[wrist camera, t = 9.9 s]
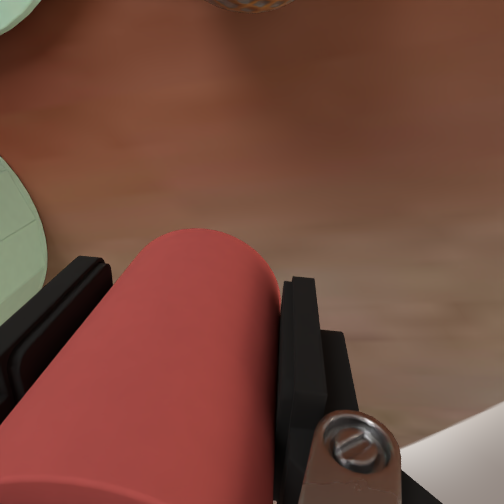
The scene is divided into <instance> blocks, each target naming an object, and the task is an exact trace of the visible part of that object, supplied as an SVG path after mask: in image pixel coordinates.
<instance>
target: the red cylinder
mask: <svg viewBox="0 0 504 504" xmlns="http://www.w3.org/2000/svg"><path fill="white" fill-rule="evenodd" d="M280 306H281V298H280V290H279V287H278V283H277V280H276V278H275V276H274V274H273V272H272V270H271V269H270V267H269V265H268V264H267V263H266V261H265V260H264V259H263V258H262V257H261V256H260V255H259V254H258V253H257V252H256V251H255V250H254V249H253V248H251V247H250V246H249V245H247V244H246V243H244V242H243V241H241V240H239V239H237V238H235V237H233V236H231V235H228V234H226V233H222V232H219V231H215V230H209V229H196V228H192V229H182V230H177V231H173V232H170V233H167V234H165V235H162V236H160V237H158V238H157V239H155V240H153V241H152V242H150V243H149V244H148V245H146V246H145V247H144V248H143V249H142V250H141V252H140V253H139V254H138V255H137V256H136V258H135V259H134V260H133V261H132V263H131V264H130V265H129V266H128V267H127V269H126V270H125V271H124V272H123V274H122V275H121V276H120V277H119V279H118V280H117V281H116V282H115V284H114V285H113V286H112V287H111V289H110V290H109V291H108V292H107V294H106V295H105V296H104V297H103V298H102V300H101V301H100V302H99V303H98V305H97V306H96V307H95V308H94V310H93V311H92V312H91V313H90V315H89V316H88V317H87V318H86V320H85V321H84V322H83V323H82V325H81V326H80V327H79V328H78V329H77V331H76V332H75V333H74V334H73V336H72V337H71V338H70V339H69V341H68V342H67V343H66V344H65V346H64V347H63V348H62V349H61V351H60V352H59V353H58V354H57V356H56V357H55V358H54V359H53V360H52V362H51V363H50V364H49V365H48V367H47V368H46V369H45V370H44V372H43V373H42V374H41V375H40V377H39V378H38V379H37V380H36V382H35V383H34V384H33V385H32V387H31V388H30V389H29V390H28V391H27V393H26V394H25V395H24V396H23V398H22V399H21V400H20V401H19V403H18V404H17V405H16V406H15V408H14V409H13V410H12V411H11V413H10V414H9V415H8V416H7V418H6V419H5V420H4V421H3V422H2V424H1V425H0V504H273V486H274V461H275V426H276V401H277V377H278V352H279V328H280Z"/></svg>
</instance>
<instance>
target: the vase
mask: <svg viewBox="0 0 504 504" xmlns="http://www.w3.org/2000/svg"><path fill="white" fill-rule="evenodd" d="M205 1H207V2H209V3H211V4H213V5H215V6H217V7H219V8H222V9H225V10H229V11H233V12H239V13H262V12H267V11H271V10H274V9H277V8H280V7H283V6H285V5H287V4H289V3H291V2H292V1H294V0H205Z"/></svg>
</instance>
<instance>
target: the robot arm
mask: <svg viewBox="0 0 504 504" xmlns="http://www.w3.org/2000/svg"><path fill="white" fill-rule="evenodd" d="M112 286H113V282H112V272H111V267H110V265H109V264H105V262H104V260H103V259H102V258H98V257H88V256H78V257H77V258H76V259H75V260H73V261H72V262H71V263H70V264H69V265H68V266H67V267H66V268H64V269H63V270H62V271H61V272H60V273H59V274H58V275H57V276H56V277H54V278H53V279H52V280H51V281H50V282H49V283H48V284H47V285H46V286H44V287H43V288H42V289H41V290H40V291H39V292H38V293H37V294H35V295H34V296H33V297H32V298H31V299H30V300H29V301H28V302H27V303H25V304H24V305H23V306H22V307H21V308H20V309H19V310H18V311H17V312H15V313H14V314H13V315H12V316H11V317H10V318H9V319H8V320H7V321H5V322H4V323H3V324H2V325H1V326H0V425H1V424H2V422H3V421H4V420H5V419H6V418H7V416H8V415H9V414H10V413H11V411H12V410H13V409H14V408H15V406H16V405H17V404H18V403H19V401H20V400H21V399H22V398H23V396H24V395H25V394H26V393H27V391H28V390H29V389H30V388H31V387H32V385H33V384H34V383H35V382H36V380H37V379H38V378H39V377H40V375H41V374H42V373H43V372H44V370H45V369H46V368H47V367H48V365H49V364H50V363H51V362H52V360H53V359H54V358H55V357H56V356H57V354H58V353H59V352H60V351H61V349H62V348H63V347H64V346H65V344H66V343H67V342H68V341H69V339H70V338H71V337H72V336H73V334H74V333H75V332H76V331H77V329H78V328H79V327H80V326H81V325H82V323H83V322H84V321H85V320H86V318H87V317H88V316H89V315H90V313H91V312H92V311H93V310H94V308H95V307H96V306H97V305H98V303H99V302H100V301H101V300H102V298H103V297H104V296H105V295H106V294H107V292H108V291H109V290H110V289H111V287H112ZM273 500H275V501H277V504H442V503H441V502H440V501H439V500H437V499H436V498H435V497H434V496H433V495H431V494H430V493H429V492H428V491H427V490H425V489H424V488H423V487H422V486H420V485H419V484H418V483H417V482H416V481H414V480H413V479H412V478H411V477H410V476H408V475H407V474H406V473H405V472H403V471H402V470H401V455H400V449H399V445H398V443H397V441H396V439H395V438H394V436H393V434H392V433H391V432H390V431H389V430H388V429H387V428H386V426H385V425H384V424H382V423H381V422H379V421H378V420H376V419H375V418H373V417H372V416H369V415H367V414H365V413H362V412H359V409H358V404H357V399H356V394H355V389H354V384H353V379H352V374H351V369H350V364H349V359H348V354H347V348H346V343H345V338H344V335H343V333H342V332H338V331H329V330H320V323H319V315H318V306H317V297H316V288H315V280H314V278H304V277H294V276H293V278H292V282H289V281H284V286H283V295H282V304H281V313H280V328H279V352H278V377H277V401H276V426H275V461H274V486H273Z"/></svg>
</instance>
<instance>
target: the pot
mask: <svg viewBox="0 0 504 504" xmlns="http://www.w3.org/2000/svg"><path fill="white" fill-rule="evenodd" d="M47 255H48V254H47V245H46V238H45V234H44V230H43V226H42V223H41V220H40V217H39V215H38V212H37V209H36V207H35V205H34V203H33V201H32V199H31V198H30V196H29V194H28V192H27V190H26V189H25V187H24V186H23V184H22V183H21V181H20V180H19V178H18V177H17V175H16V174H15V173H14V172H13V170H12V169H11V168H10V167H9V165H8V164H7V163H6V162H5V160H4V159H3V158H2V157H1V156H0V326H1V325H2V324H3V323H4V322H5V321H7V320H8V319H9V318H10V317H11V316H12V315H13V314H14V313H15V312H17V311H18V310H19V309H20V308H21V307H22V306H23V305H24V304H25V303H27V302H28V301H29V300H30V299H31V298H32V297H33V296H34V295H35V294H37V293H38V292H39V291H40V290H41V289H42V286H43V284H44V281H45V276H46V271H47Z"/></svg>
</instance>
